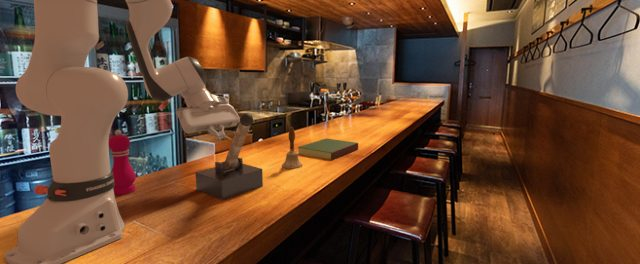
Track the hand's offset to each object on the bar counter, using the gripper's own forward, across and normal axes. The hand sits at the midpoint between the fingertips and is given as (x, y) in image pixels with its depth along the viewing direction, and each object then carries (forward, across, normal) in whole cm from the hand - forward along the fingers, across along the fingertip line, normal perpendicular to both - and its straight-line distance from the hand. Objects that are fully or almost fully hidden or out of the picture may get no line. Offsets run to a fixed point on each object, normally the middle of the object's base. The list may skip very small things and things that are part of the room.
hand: (221, 137), depth 113 cm
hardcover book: (+11, +61, +14) cm, 64 cm away
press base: (+14, 0, +9) cm, 17 cm away
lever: (+9, 0, +5) cm, 10 cm away
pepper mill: (-2, -24, +25) cm, 35 cm away
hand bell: (+13, +32, +11) cm, 36 cm away
